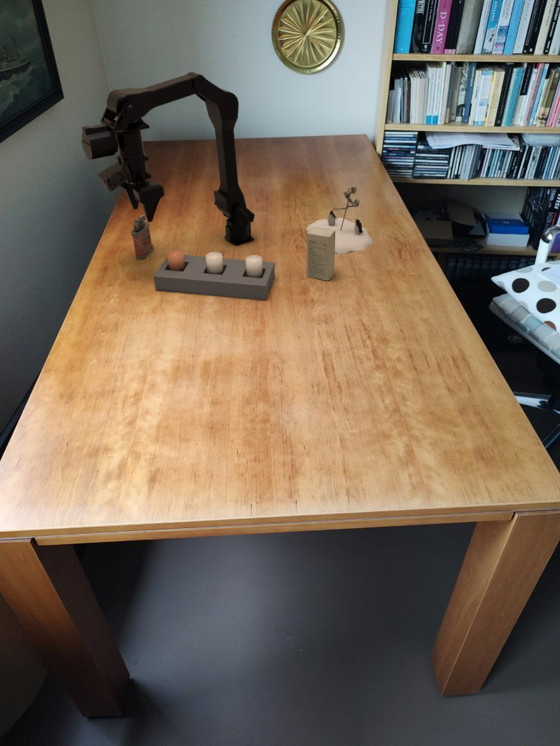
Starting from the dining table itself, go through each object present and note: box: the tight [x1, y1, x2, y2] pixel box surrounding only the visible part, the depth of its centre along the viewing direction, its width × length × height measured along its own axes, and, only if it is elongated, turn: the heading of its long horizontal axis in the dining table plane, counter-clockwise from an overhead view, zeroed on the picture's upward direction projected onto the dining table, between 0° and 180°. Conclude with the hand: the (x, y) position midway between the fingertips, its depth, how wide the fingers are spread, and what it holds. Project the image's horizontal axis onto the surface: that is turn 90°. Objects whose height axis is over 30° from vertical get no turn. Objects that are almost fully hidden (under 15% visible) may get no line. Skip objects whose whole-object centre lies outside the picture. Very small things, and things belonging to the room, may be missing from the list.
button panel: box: [153, 254, 276, 301], centre depth 138 cm, size 28×12×4 cm, turn 80°
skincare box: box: [306, 227, 336, 282], centre depth 139 cm, size 6×4×12 cm
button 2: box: [245, 254, 263, 278], centre depth 135 cm, size 4×4×4 cm
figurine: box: [305, 184, 374, 255], centre depth 154 cm, size 20×18×16 cm
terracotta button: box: [166, 248, 185, 271], centre depth 137 cm, size 4×4×4 cm
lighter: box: [130, 214, 154, 261], centre depth 150 cm, size 8×3×10 cm, turn 168°
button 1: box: [205, 251, 223, 274], centre depth 136 cm, size 4×4×4 cm
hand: (142, 215), depth 137 cm, fingers open, 9 cm apart
